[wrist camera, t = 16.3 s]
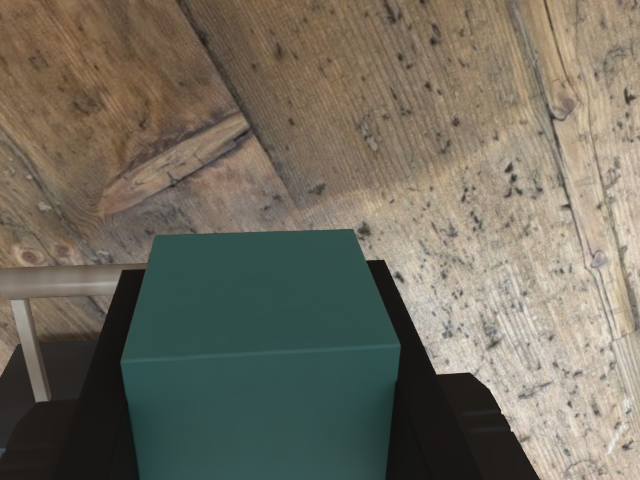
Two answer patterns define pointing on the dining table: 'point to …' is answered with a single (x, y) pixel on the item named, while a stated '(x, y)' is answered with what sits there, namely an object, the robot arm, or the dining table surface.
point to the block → (260, 359)
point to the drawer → (47, 358)
